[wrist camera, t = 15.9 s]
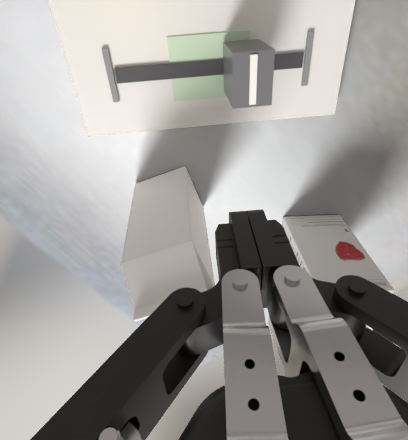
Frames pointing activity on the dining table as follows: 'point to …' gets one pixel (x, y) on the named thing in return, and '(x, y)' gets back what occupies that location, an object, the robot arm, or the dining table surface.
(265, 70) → the fader charcoal
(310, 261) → the supplement box
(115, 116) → the board
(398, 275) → the dining table surface
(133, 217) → the milk carton
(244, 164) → the dining table surface
